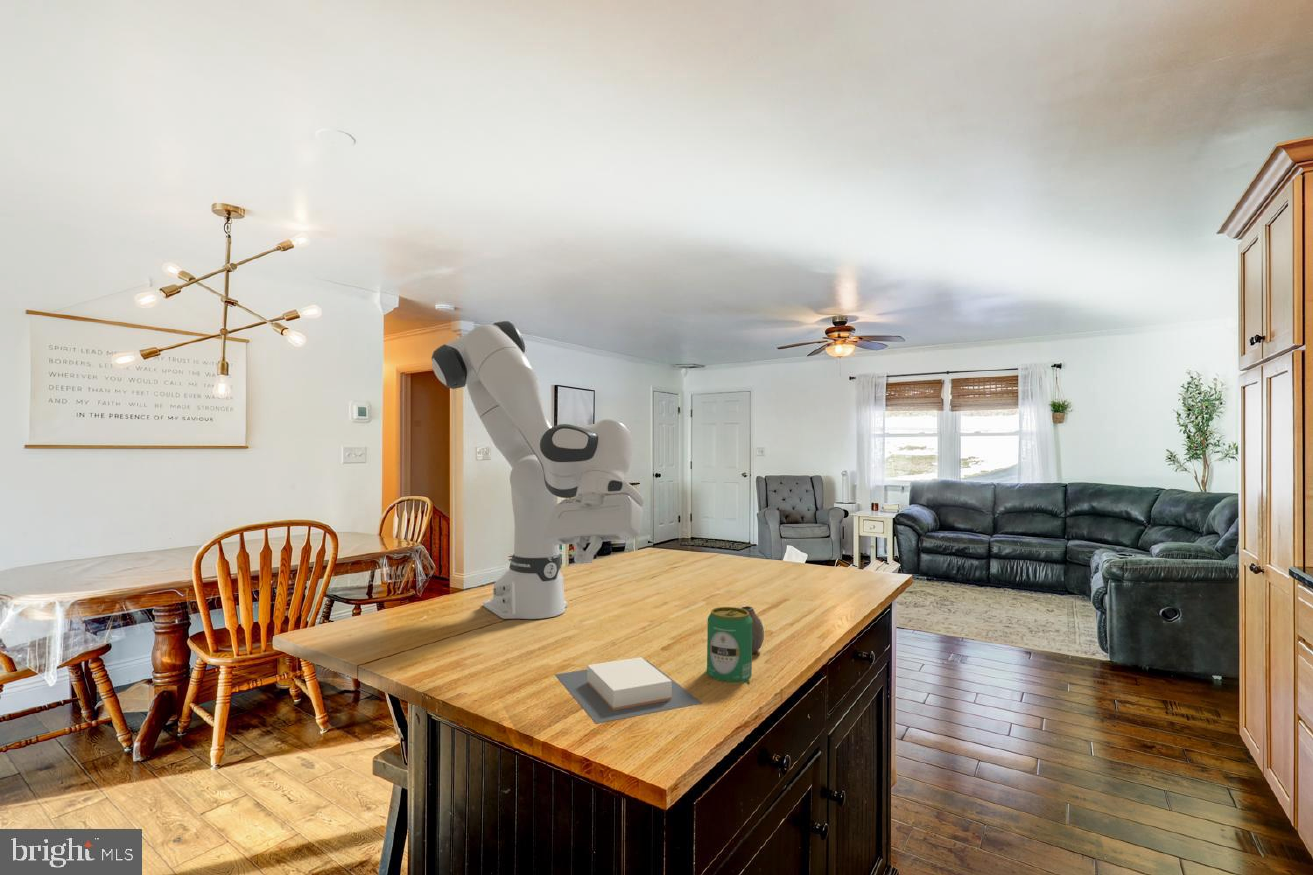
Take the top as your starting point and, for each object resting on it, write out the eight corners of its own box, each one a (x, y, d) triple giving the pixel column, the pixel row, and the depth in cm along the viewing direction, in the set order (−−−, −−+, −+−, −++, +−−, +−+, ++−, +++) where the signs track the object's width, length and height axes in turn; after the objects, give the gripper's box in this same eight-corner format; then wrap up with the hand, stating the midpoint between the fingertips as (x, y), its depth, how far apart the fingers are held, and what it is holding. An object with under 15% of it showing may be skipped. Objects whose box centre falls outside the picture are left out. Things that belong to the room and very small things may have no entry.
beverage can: (700, 682, 109) (701, 614, 109) (714, 668, 116) (715, 604, 116) (744, 690, 105) (745, 620, 106) (756, 675, 113) (757, 609, 113)
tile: (587, 664, 105) (613, 690, 94) (640, 657, 109) (671, 680, 99) (587, 682, 105) (613, 710, 94) (640, 674, 109) (671, 699, 99)
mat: (554, 679, 109) (554, 674, 109) (647, 665, 116) (647, 660, 116) (595, 730, 90) (595, 723, 90) (702, 709, 98) (703, 702, 98)
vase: (722, 650, 126) (723, 607, 126) (742, 642, 131) (742, 601, 131) (751, 658, 121) (751, 614, 121) (770, 650, 126) (770, 607, 127)
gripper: (547, 493, 122) (528, 558, 114) (634, 481, 112) (619, 551, 104) (566, 508, 126) (548, 571, 119) (651, 498, 116) (638, 566, 109)
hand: (582, 562), depth 111 cm, fingers closed
